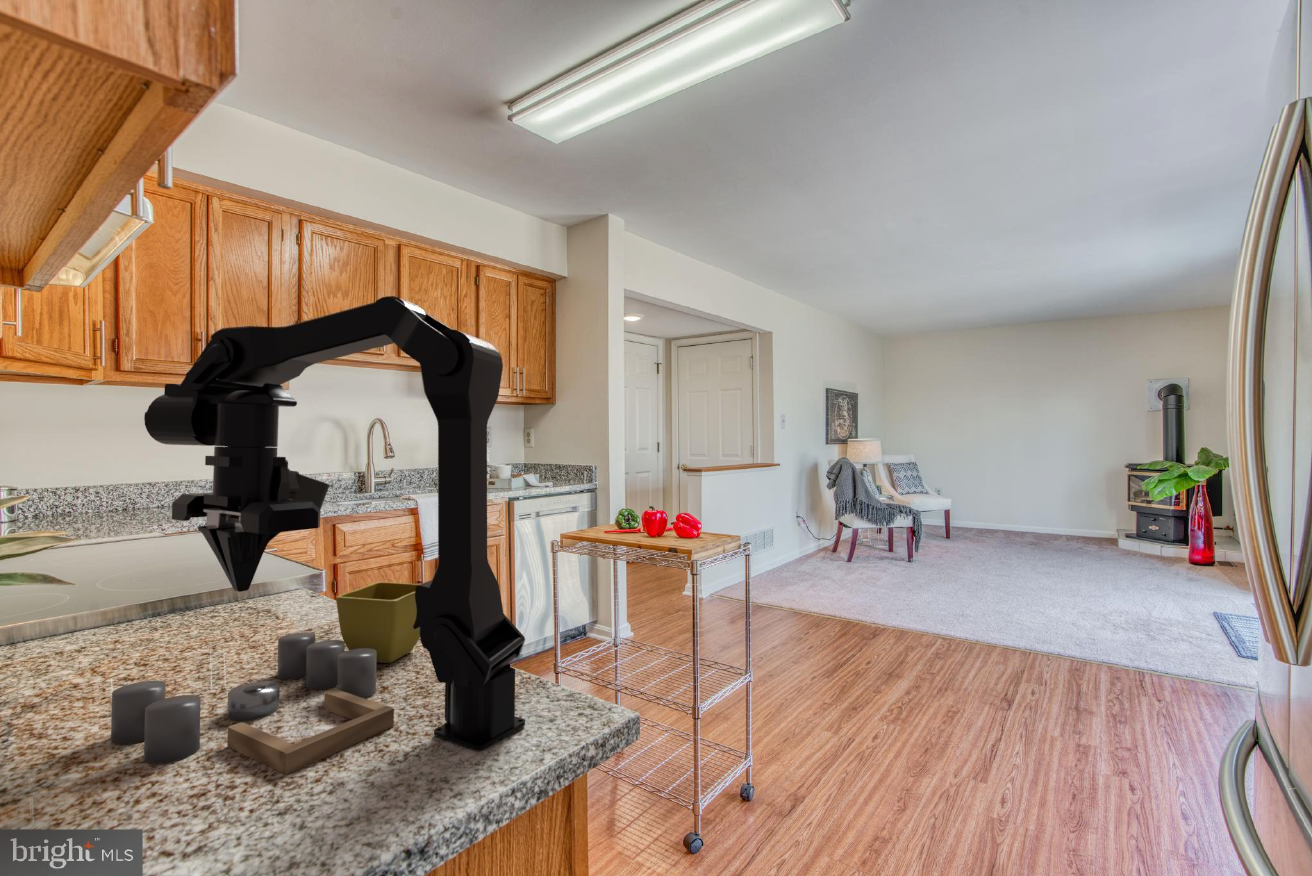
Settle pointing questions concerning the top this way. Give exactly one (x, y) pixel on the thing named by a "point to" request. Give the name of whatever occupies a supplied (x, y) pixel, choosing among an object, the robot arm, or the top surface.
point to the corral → (292, 757)
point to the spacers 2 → (327, 664)
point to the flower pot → (380, 619)
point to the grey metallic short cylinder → (253, 701)
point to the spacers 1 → (156, 721)
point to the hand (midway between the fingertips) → (241, 590)
